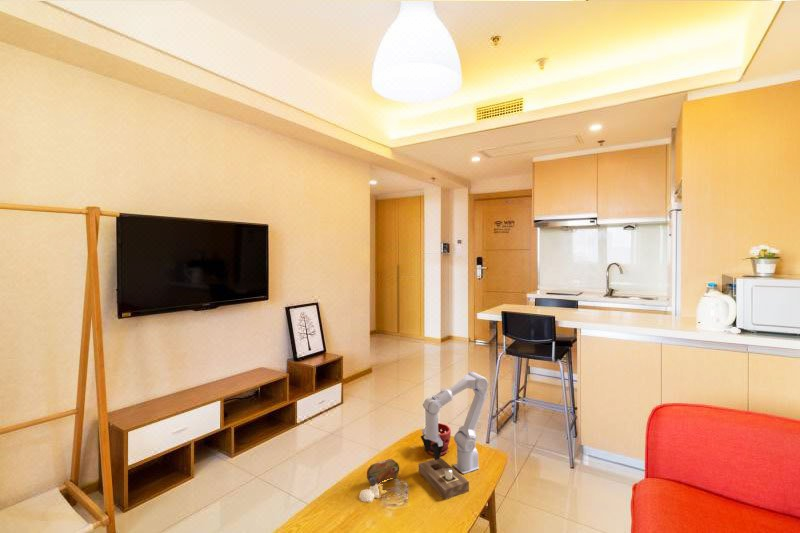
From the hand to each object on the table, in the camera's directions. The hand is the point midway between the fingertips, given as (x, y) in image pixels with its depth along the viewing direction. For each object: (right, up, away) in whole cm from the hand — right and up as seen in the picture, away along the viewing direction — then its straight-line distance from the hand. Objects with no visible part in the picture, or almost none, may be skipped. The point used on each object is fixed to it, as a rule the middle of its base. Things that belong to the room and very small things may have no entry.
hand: (432, 455), depth 168 cm
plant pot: (+5, -9, +22) cm, 24 cm away
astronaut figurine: (-26, -11, -12) cm, 30 cm away
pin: (+6, -9, -9) cm, 14 cm away
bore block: (+4, -9, -4) cm, 11 cm away
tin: (-22, -10, -3) cm, 25 cm away
